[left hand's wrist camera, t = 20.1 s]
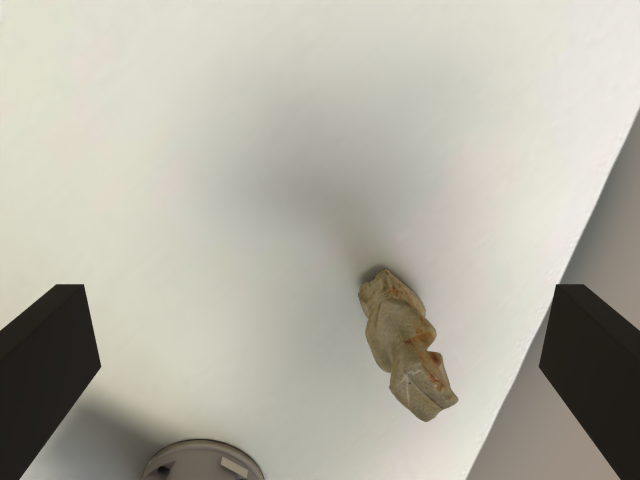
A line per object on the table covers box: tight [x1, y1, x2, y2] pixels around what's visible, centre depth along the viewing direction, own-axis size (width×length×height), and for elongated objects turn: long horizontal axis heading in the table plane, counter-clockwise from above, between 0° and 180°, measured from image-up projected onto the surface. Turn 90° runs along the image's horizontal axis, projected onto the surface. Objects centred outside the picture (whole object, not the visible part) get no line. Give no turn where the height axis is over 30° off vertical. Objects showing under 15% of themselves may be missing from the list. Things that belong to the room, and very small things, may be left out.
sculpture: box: [358, 269, 458, 422], centre depth 40 cm, size 6×7×15 cm
